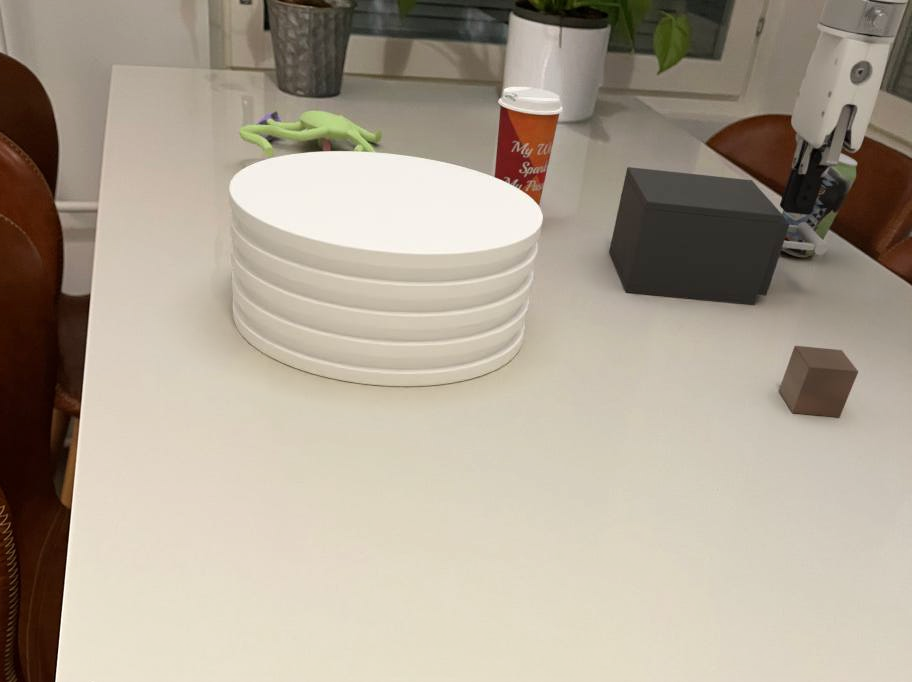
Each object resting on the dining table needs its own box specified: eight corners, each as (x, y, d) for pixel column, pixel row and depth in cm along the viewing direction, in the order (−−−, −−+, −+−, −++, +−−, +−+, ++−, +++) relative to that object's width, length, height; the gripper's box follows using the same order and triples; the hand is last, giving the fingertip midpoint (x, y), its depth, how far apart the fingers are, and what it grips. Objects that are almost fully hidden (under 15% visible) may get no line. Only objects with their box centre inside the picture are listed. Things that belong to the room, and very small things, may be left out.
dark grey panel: (788, 264, 118) (811, 196, 113) (817, 301, 109) (843, 229, 104) (630, 248, 117) (646, 178, 112) (647, 284, 108) (665, 210, 103)
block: (824, 394, 93) (842, 349, 90) (840, 417, 89) (858, 371, 86) (778, 390, 92) (794, 345, 90) (792, 413, 89) (809, 366, 86)
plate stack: (206, 271, 100) (200, 150, 93) (458, 262, 110) (471, 151, 102) (273, 398, 81) (273, 258, 74) (572, 374, 91) (598, 248, 83)
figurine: (236, 181, 124) (234, 133, 120) (255, 126, 144) (254, 84, 140) (382, 195, 126) (385, 147, 122) (381, 139, 146) (383, 97, 142)
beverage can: (762, 241, 127) (794, 140, 119) (818, 248, 127) (853, 148, 119) (773, 258, 122) (807, 154, 114) (831, 265, 122) (869, 162, 115)
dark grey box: (727, 264, 119) (752, 180, 112) (754, 305, 109) (783, 215, 103) (608, 252, 118) (627, 166, 111) (625, 292, 108) (647, 201, 102)
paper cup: (507, 230, 120) (526, 102, 111) (471, 209, 125) (486, 86, 115) (557, 224, 124) (579, 100, 115) (520, 204, 128) (538, 84, 119)
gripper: (926, 37, 92) (849, 238, 103) (869, 10, 103) (807, 194, 115) (849, 27, 91) (781, 230, 103) (800, 1, 102) (744, 186, 114)
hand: (794, 210), depth 109 cm, fingers closed
